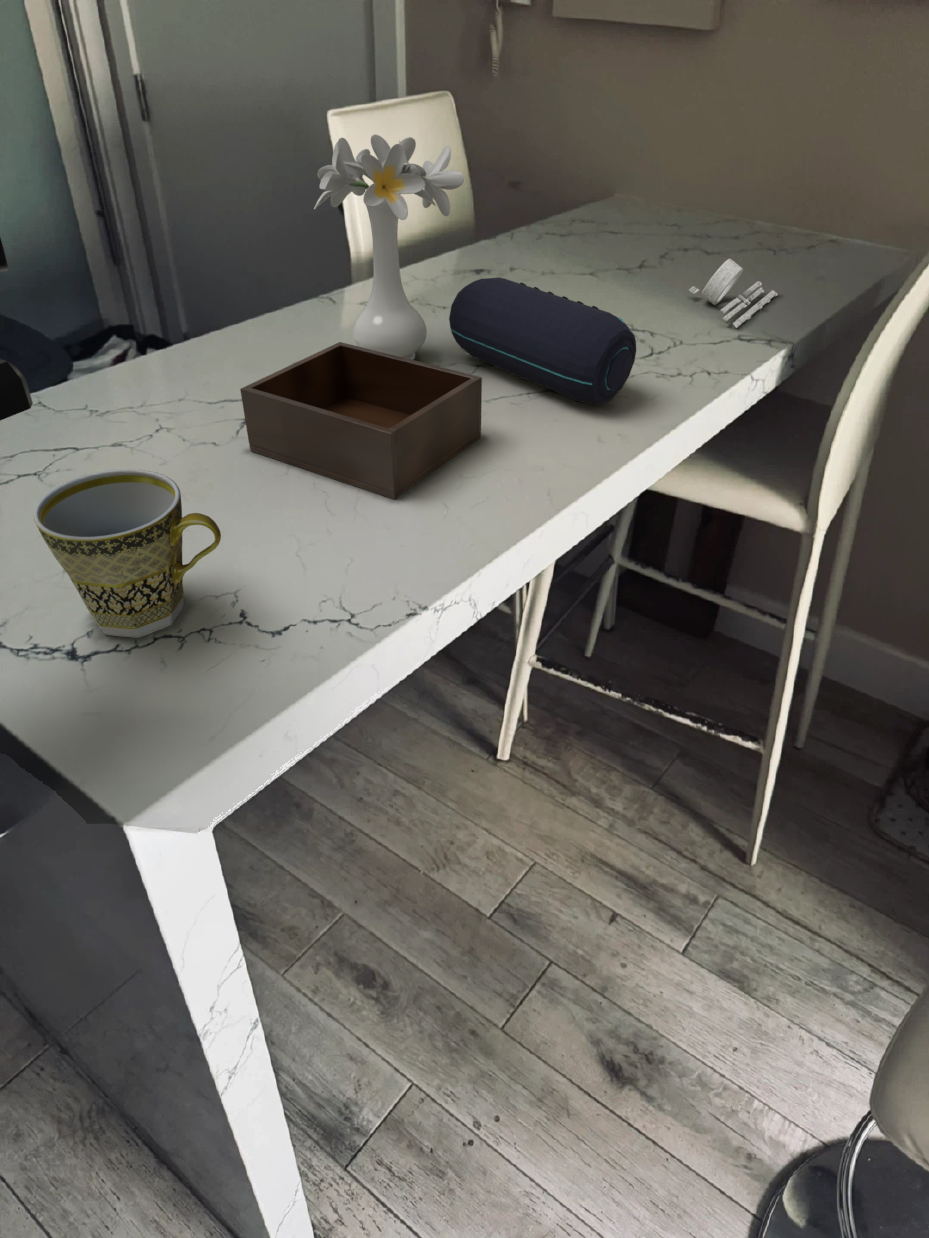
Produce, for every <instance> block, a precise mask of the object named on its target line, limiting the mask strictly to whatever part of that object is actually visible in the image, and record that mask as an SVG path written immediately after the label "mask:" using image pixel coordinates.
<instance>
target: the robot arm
mask: <svg viewBox="0 0 929 1238" xmlns="http://www.w3.org/2000/svg"><path fill="white" fill-rule="evenodd" d="M3 245H4V244H3V242H2V238H1V237H0V273H4V272H9V265H8V262H7V257H6V253H5V249H4V246H3ZM33 404H34V402H33V399H32V395H31V393H30V389H29V386H28V383H27V380H26V377H25V376H24V375H23V374H22V372H21V371H20V370H19V369H18V367H17V366H16V365H14V364H13V363H11V362H9V361H7V360H4V359H1V358H0V421H3V420H5V419H8V418H11V417H13V416H16V415H18V414H20V413H23V412H25V411H28V410H31V408H32V407H33Z"/></svg>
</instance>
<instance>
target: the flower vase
mask: <svg viewBox="0 0 929 1238" xmlns="http://www.w3.org/2000/svg"><path fill="white" fill-rule="evenodd" d="M416 145H417V142H416V139H415V138H414V137H412V136H411V137H410V136H409V137H405V138H403V139H402V140H399V141H398V143H396V144H393V145H392V146H390V144H389V142H387V140H386V139H385V138H383V137H382V136H381V135H379V134H373V135H371V136H370V146H371V148H372V151H373V153H374V155H375V156H374V155H372V154H371V151H370V149H369V148H364V149H362V150H360V152H358V153H357V155H356V156H355V157H354V154H353V151H352V148H351V145H350V143H349V142H348V140H347V139H346V138H345V137H340V138H338V140H337V142H335V145H334V148H333V153H332V157H331V159H332V160H331V164H327V165H324V166H322V167H320V168H319V169H318V171H317V175H316V176H317V178H318V179H319V181H320V182H319V189H320V190H324V191H323V192H322V193H321V195H320V196H319V197H318V200H317V201H316V203H315V205H314V208H313V210H314V211H315V210H316V209H317V208H318V207H320V206H321V205H322V204H323V203H324V202H325V201H326V200H328V198H330V206H331V207H332V208H337V207H339V206H340V205H341V204H342V203H343V202H344V200H346V198H347V197H348V196H349V194H351V193H352V194H353V195H354V196H358V197H362V196H363V198H362V199H363V203H364V205H365V207H366V210H367V213H368V219H369V223H370V229H371V238H372V263H373V264H372V266H373V267H372V268H373V269H372V273H373V275H372V276H373V277H372V279H373V280H372V288H371V292H370V295H369V299H368V301H367V302H366V303H367V304H366V306H365V307H364V308H363V309H362V310H361V311H360V313H359V314H358V315H357V317H356V319H355V320H354V322H353V327H352V332H351V337H352V339H353V341H354V344H355V346H358V347H362V348H366V349H370V350H374V351H379V352H383V353H387V354H391V355H395V356H399V357H403V358H407V359H411V360H415V358H416V352H418V351H419V350H420V349H421V347H423V345H424V343H425V342H426V340H427V337H428V328H427V325H426V322H425V320H424V318H423V317H422V316H421V314H420V313H419V312H418V310H416V308H414V307H413V305H411V303H410V301H409V300H408V297H407V295H406V293H405V290H404V287H403V282H402V277H401V268H400V255H399V241H398V239H399V238H398V237H399V236H398V232H399V231H398V227H399V220H401V221H404V220H407V218H408V217H409V208H408V203H407V201H406V199H405V197H404V196H403V195H412V194H413V195H415V196H418V197H420V198H421V199H422V200H421V201H422V203H421V204H422V207H423V208H424V209H428V208H430V207H431V205H433V206H435V207H436V206H437V208H438V209H439V211H440V213H441V215H443V216H444V217H448V216H449V215H450V213H451V202H450V198H449V196H448V194H447V192H446V191H448V190H449V191H451V190H456V189H458V188H460V187H461V186H462V185H463V184H464V182H465V176H464V174H463V173H462V172H461V171H458V170H446V169H447V168H448V167H449V164H450V162H451V158H452V157H451V156H452V148H451V146H450V145H446V146H445V147H443V149H442V150H441V152H440V153H439V155H438V157H437V159H436V161H434V163H433V162H432V161H430V160H425V161H424V162H423V164H422V166H421V165H419V164H417V163H410V160H411V159H412V157H413V155H414V153H415V150H416ZM364 177H366V178H368V179H369V180H370V181H371V182H372V183H371V184H370V185H369V184H368V183H367V182H366V181H365V179H364ZM445 190H446V191H445Z"/></svg>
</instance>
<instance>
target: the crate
mask: <svg viewBox="0 0 929 1238" xmlns="http://www.w3.org/2000/svg"><path fill="white" fill-rule="evenodd" d="M482 393H483V377H482V376H478V375H475V374H470V373H466V372H462V371H459V370H455V369H450V368H446V367H442V366H439V365H435V364H430V363H427V362H423V361H418V360H415V359H414V360H411V359H407V358H403V357H399V356H395V355H391V354H387V353H383V352H379V351H374V350H370V349H366V348H362V347H358V346H357V345H354V344H350V343H346V342H342V341H339V342H337V343H335V344H332V345H330V346H328V347H326V348H324V349H321V350H320V351H317V352H315V353H313V354H311V355H308V356H306V357H305V358H302V359H300V360H298V361H296V362H294V363H291V364H289V365H288V366H286V367H283V368H282V369H281V368H280V369H279V370H277V371H275V372H273V373H271V374H269V375H266V376H264V377H262V378H260V379H258V380H256V381H253V382H251V383H250V384H247V385H246V386H243V387H241V388H240V398H241V403H242V410H243V415H244V420H245V429H246V433H247V440H248V444H249V450H250V451H249V452H252V453H256V454H258V455H262V456H264V457H267V458H271V459H273V460H276V461H279V462H282V463H285V464H288V465H291V466H293V467H298V468H300V469H302V470H306V471H309V472H311V473H315V474H318V475H320V476H324V477H327V478H329V479H333V480H335V481H339V482H341V483H345V484H346V485H347V484H348V485H351V486H354V487H357V488H359V489H363V490H365V491H369V492H371V493H374V494H377V495H380V496H383V497H386V498H389V499H392V500H396V499H397V498H398V497H400V496H402V495H403V494H404V493H406V492H407V491H408V490H410V489H412V488H413V487H414V486H415V485H417V484H418V483H420V482H421V481H422V480H424V479H425V478H427V477H428V476H430V475H431V474H433V473H434V472H435V471H437V470H438V469H440V468H441V467H443V466H444V465H445V464H447V463H448V462H449V461H451V460H452V459H454V458H455V457H456V456H458V455H459V454H461V453H462V452H463V451H465V450H467V449H468V448H470V446H472V445H474V444H475V443H476V442H478V441H479V440H480V439H481V438H482V396H483V395H482Z"/></svg>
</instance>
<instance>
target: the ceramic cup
mask: <svg viewBox="0 0 929 1238" xmlns="http://www.w3.org/2000/svg"><path fill="white" fill-rule="evenodd" d="M181 494H182V493H181V490H180V488H179V486H178V484H177V483H176V482H175V480H173V479H172V478H170V477H168V476H166V475H165V474H162V473H159V472H155V471H151V470H145V469H134V468H131V469H130V468H125V469H123V468H122V469H110V470H104V471H98V472H94V473H90V474H85V475H82V476H80V477H76V478H73V479H70V480H69V481H67V482H64V483H62V484H60V485H59V486H56V487H55V488H53V489H52V490H50V491H49V492H47V493H46V494H45V495H44V496H43V497H42V498H41V499H40V500H39V501H38V503H37V504H36V506H35V508H34V510H33V521H34V523H35V525H36V527H37V529H38V531H39V533H40V535H41V537H42V538H43V540H44V542H45V544H46V545H47V548H48V549H49V550H50V552H51V554H52V555H53V557H54V558H55V560H56V561H57V563H58V564H59V565H60V566H61V568H62V569H63V570H64V571H65V573H66V574H67V575H68V577H69V579H70V581H71V582H72V584H73V586H74V587H75V589H76V591H77V593H78V595H79V596H80V598H81V600H82V602H83V604H84V605H85V607H86V610H87V611H88V612H89V614H90V616H91V617H92V619H93V620H94V621H95V623H96V625H97V626H98V627H99V630H100V631H101V632H102V633H103V634H104V635H106V636H111V637H112V636H113V637H124V638H133V639H139V638H142V637H145V636H147V635H150V634H153V633H156V632H157V631H160V630H163V629H166V628H169V627H170V626H172V625H173V624H174V623H175V621H176V619H177V618H178V616H179V615H180V614H181V612H182V610H183V609H184V605H185V599H184V583H183V582H184V578H183V577H184V575H185V574H186V573H187V572H188V571H189V570H191V569H193V567H194V566H195V565H196V564H197V563H198V562H199V561H200V560H201V559H203V558H204V557H205V556H207V555H210V553H212V552H213V551H214V550H216V549H217V547H219V545H220V542H221V538H222V534H221V533H222V532H221V530H220V527H219V526H218V524H217V523H216V522H215V520H214V519H213V518H211V517H210V516H208V515H206V514H203V513H199V512H191V513H187V514H186V515H184V516H183V505H182V495H181ZM190 526H203V527H206V528H208V529H209V530H210V531H211V532H212V533H213V536H214V541H213V542H212V543H211V544H210V545H209V546H207V547H205V548H204V549H202V550H201V551H200V552H198V553H197V554H196V555H194V556H193V558H192V559H191V560H190V561H189V562H188V563H186V564H183V532H184V530H185V529H187V528H188V527H190Z"/></svg>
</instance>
